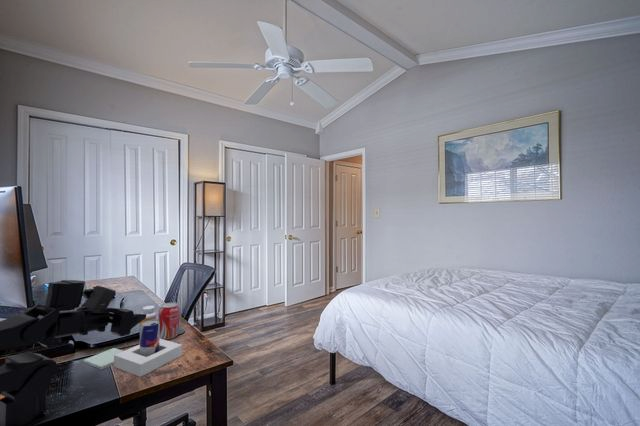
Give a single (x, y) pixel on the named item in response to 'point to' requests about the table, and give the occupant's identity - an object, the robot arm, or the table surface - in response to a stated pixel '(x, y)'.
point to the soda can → (169, 320)
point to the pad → (103, 359)
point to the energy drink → (149, 337)
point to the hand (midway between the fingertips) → (135, 313)
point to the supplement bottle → (148, 313)
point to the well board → (147, 358)
